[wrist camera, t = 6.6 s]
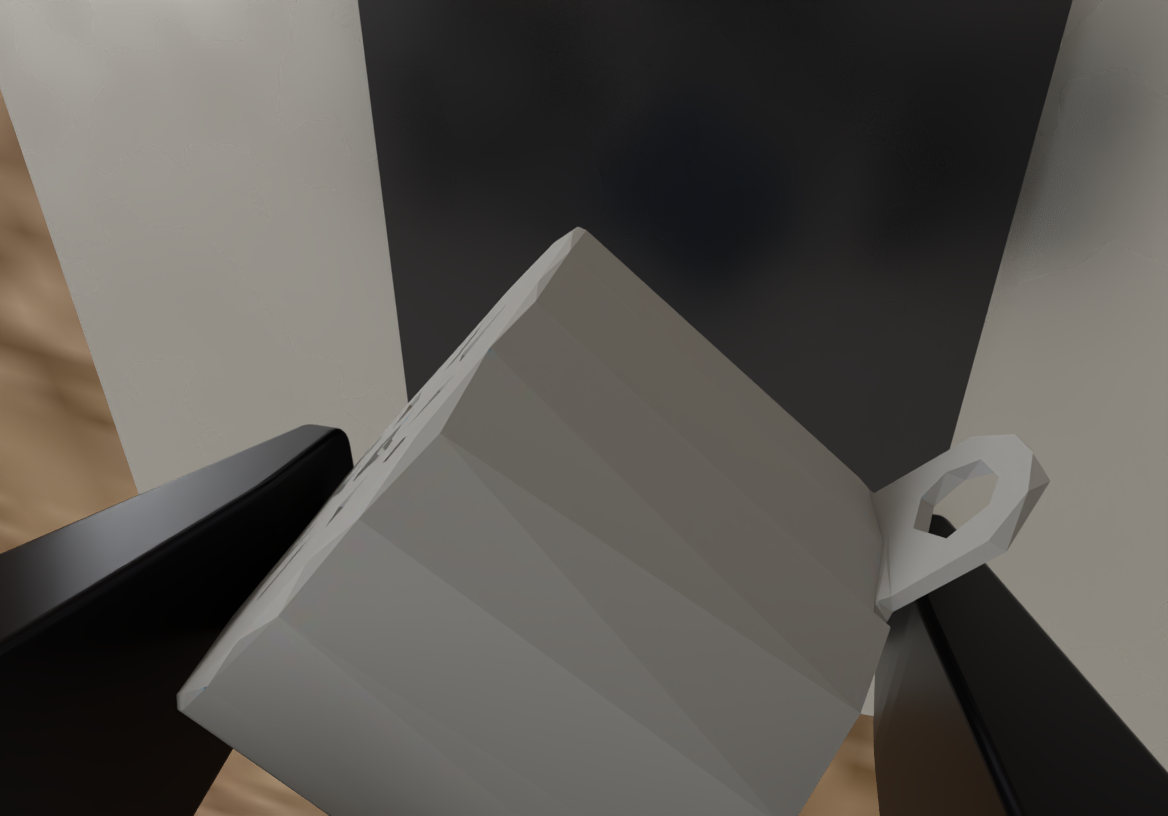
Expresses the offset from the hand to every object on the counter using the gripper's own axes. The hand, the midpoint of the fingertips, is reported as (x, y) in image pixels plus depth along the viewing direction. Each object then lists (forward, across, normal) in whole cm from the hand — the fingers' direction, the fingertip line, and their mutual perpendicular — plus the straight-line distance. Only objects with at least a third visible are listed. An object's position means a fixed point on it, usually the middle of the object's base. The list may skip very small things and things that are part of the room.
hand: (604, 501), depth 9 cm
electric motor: (+1, 0, 0) cm, 1 cm away
